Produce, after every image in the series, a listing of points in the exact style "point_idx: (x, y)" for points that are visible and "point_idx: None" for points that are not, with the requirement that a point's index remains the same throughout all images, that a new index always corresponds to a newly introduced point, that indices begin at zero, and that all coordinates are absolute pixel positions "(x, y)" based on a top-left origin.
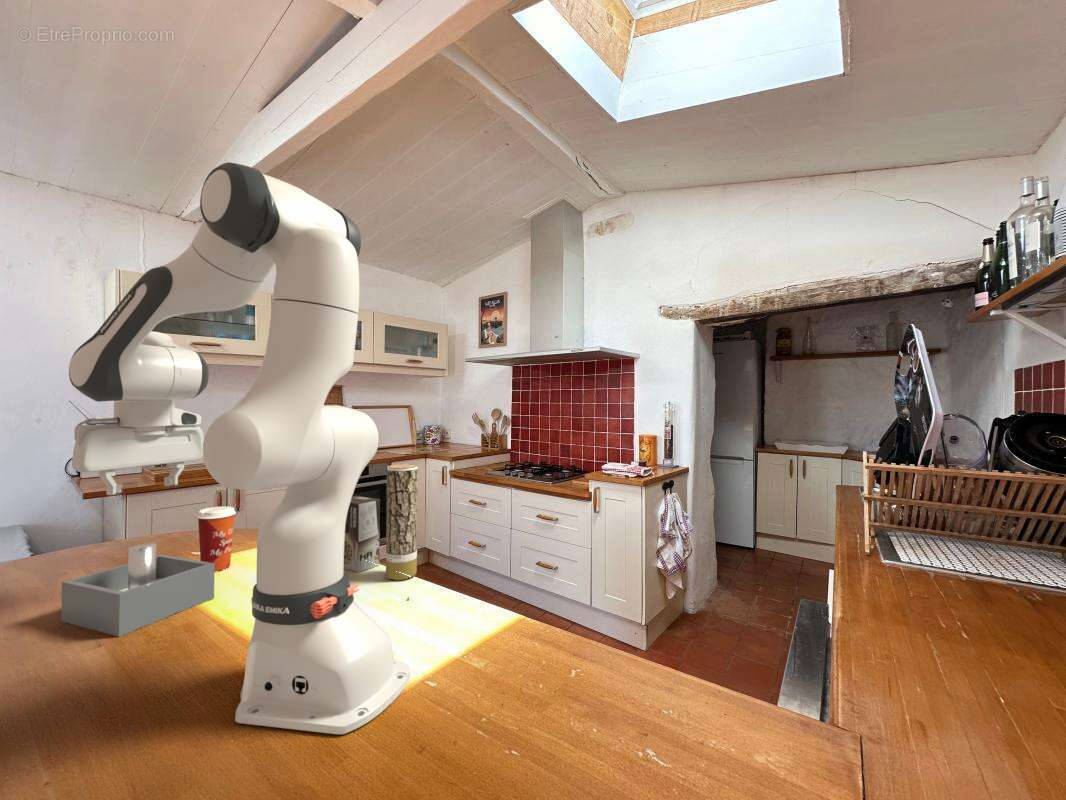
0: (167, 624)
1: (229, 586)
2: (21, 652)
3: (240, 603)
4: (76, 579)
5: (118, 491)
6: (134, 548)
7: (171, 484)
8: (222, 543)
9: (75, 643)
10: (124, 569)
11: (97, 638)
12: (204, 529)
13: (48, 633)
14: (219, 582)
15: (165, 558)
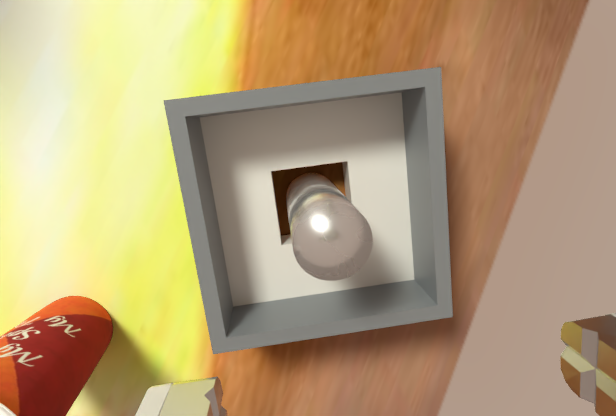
0: (324, 48)
1: (123, 154)
2: (507, 179)
3: (168, 2)
4: (428, 308)
5: (602, 323)
6: (362, 232)
7: (203, 379)
8: (28, 332)
9: (452, 130)
10: (317, 319)
11: None
12: (47, 397)
13: (451, 232)
14: (124, 209)
15: (221, 306)
